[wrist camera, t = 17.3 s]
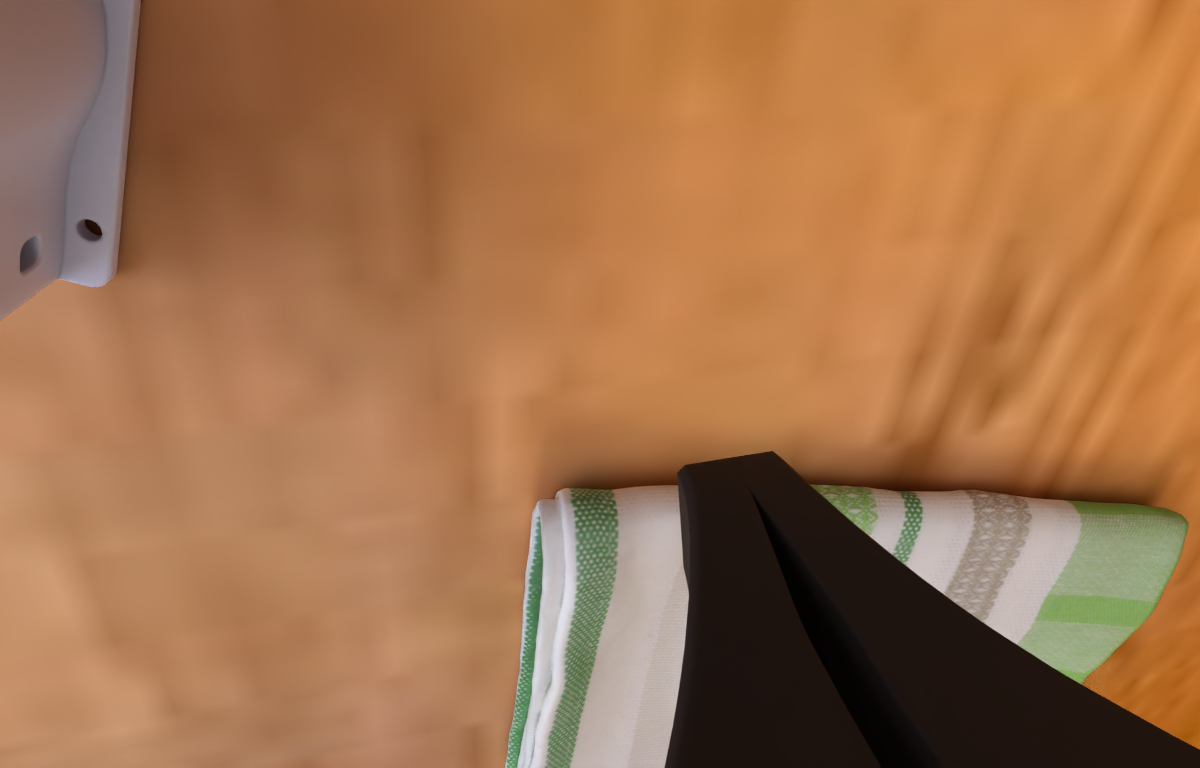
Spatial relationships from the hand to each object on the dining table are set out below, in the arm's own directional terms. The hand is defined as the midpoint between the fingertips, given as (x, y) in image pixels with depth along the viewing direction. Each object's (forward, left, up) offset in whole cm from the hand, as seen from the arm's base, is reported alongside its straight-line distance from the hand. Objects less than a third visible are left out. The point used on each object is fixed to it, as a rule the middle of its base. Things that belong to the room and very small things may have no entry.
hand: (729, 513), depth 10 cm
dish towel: (-13, -14, -10) cm, 21 cm away
